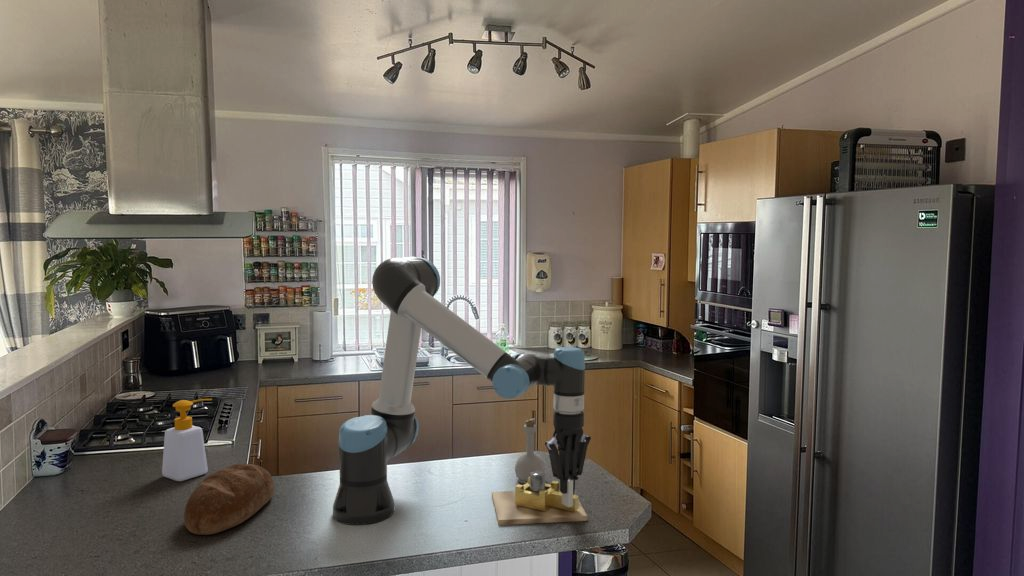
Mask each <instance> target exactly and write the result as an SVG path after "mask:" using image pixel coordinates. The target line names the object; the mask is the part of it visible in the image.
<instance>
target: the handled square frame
mask: <svg viewBox="0 0 1024 576" xmlns="http://www.w3.org/2000/svg"><path fill="white" fill-rule="evenodd" d="M514 489H515V490H514V491H515V505H519V506H523V507H528V508H532V509H537V510H541V511H546V510H547V509H548V508H550V507H555V508H560V509H564V510H569V511H573V512H576V511H577V510H578V501H579V502H580V500H579V495H577V494H575V495H573V506H572V507H567V506H565V505H563V504H562V493H561V492H559V489H560V481H558V480H553V481H551V482H550V483H545V490H543V489H542V490H540V491H539V493H536V492H531V491H530V477H528V483H526V484H519V483H518V484H517V485H515V487H514Z"/></svg>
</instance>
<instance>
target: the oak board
mask: <svg viewBox="0 0 1024 576" xmlns="http://www.w3.org/2000/svg"><path fill="white" fill-rule="evenodd" d="M559 492H560V488H559ZM574 495H576V493H575V494H574ZM491 499H492V503H493V508H494V512H495V516H496V520H497V525H498V526H503V525H506V526H507V525H525V524H526V525H527V524H543V523H544V524H546V523H563V522H566V523H567V522H584V521H585V522H586V521H588V514H587V513H586V511H585V509H584V507H583V506H582V503H581V502H580V500H579V501H578V510H577V511H576V512H573V511H569V510H564V509H560V508H555V507H550V508H548V509H547V510H546V511H541V510H537V509H532V508H528V507H523V506H519V505H515V490H505V491H501V490H500V491H491Z"/></svg>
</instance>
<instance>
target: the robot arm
mask: <svg viewBox="0 0 1024 576" xmlns="http://www.w3.org/2000/svg"><path fill="white" fill-rule="evenodd" d="M371 283H372V284H371V286H372V289H373V292H374V294H375V296H376V297H377V299H378V300H379V301H380V302H381V303H382V304H384V306H385V307H386V308H387V309H388V310H389V311H390V313H389V314H390V315H389V321H388V326H387V328H388V329H387V335H386V343H385V349H384V356H383V357H384V358H383V364H382V371H381V378H380V379H381V380H380V385H379V386H380V387H379V394H378V398H377V399H376V400H375V401H373V402H372V404H371V410H370V414H365V415H360V416H358V417H355V416H354V417H352V418H350V419H348V420H346V421H344V422H343V423H342V424H341V426H340V428H339V431H338V432H339V433H338V434H339V435H338V440H337V441H338V444H337V445H338V449H339V450H338V452H339V453H338V456H339V457H338V459H339V460H338V461H339V463H338V464H339V485H338V489H337V492H336V495H335V498H334V501H333V504H332V517H333V519H335V520H336V521H337V522H339V523H342V524H346V525H358V526H359V525H369V524H374V523H378V522H380V521H384V520H386V519H388V518H389V517H391V516H392V515H393V514H394V512H395V499H394V497H393V493H392V491H391V488H390V485H389V482H388V461H390V460H391V459H392V458H394V457H396V456H398V455H400V454H401V453H404V452H405V451H406V450H408V449H409V448H410V447H411V445H413V443H414V442H415V441H416V439H417V437H418V434H419V428H420V427H419V421H418V418H417V417H416V415H415V413H416V407H415V406H414V405H413V403H412V402H411V400H412V394H413V388H414V380H415V375H416V374H415V372H416V368H417V367H416V366H417V359H418V352H419V345H420V341H421V340H420V339H421V332H422V330H424V331H425V332H426V333H427V334H429V335H430V336H432V338H434V339H435V340H436V341H438V342H439V343H440V344H442V345H443V346H444V347H445V348H447V349H448V350H449V351H451V352H452V353H454V354H455V355H456V356H457V357H459V358H460V359H461V360H463V361H464V362H465V363H467V364H468V365H469V366H471V368H473V369H475V370H476V371H477V372H479V374H481V375H482V376H484V377H485V378H486V379H487V380H488V381H490V382H491V383H492V387H493V390H494V391H495V393H496V394H497V395H498V396H499V397H501V398H503V399H507V400H510V399H511V400H512V399H515V398H517V397H521V396H523V394H525V393H526V392H527V391H528V390H529V389H531V388H532V387H533V386H535V385H536V386H537V385H538V386H549V387H550V386H552V387H553V404H552V405H553V409H554V410H553V414H552V415H553V416H552V418H553V419H552V420H553V421H552V423H553V428H554V431H553V434H552V438H551V439H550V440H546V441H545V442H544V445H545V447H546V450H547V451H548V457H549V461H550V466H551V471H552V476H553V477H554V478H555V479H557V480H559V489H560V492H561V493H562V504H563V505H565V506H567V507H572V506H573V491H574V490H576V481H578V480H579V476H581V475H583V471H584V465H585V460H586V456H587V451H588V446H589V444H590V442H591V439H592V437H591V436H590V435H587V434H585V433H584V429H583V427H584V425H585V412H584V410H585V383H586V382H585V379H586V377H585V376H586V375H585V374H586V364H585V361H586V360H585V359H586V358H585V352H584V350H583V349H582V348H580V347H574V346H560V347H555V349H554V350H553V351H554V352H553V354H538V353H525V352H519V353H518V352H515V353H513V352H512V353H510V354H509V353H508V352H507V351H506V350H504V349H503V348H501V347H500V346H498V345H497V344H496V343H495V342H493V341H492V340H491V339H489V338H488V337H487V336H485V335H484V334H483V333H482V332H480V331H479V330H478V329H476V328H475V327H473V326H472V325H470V323H468V322H467V321H465V320H464V319H463V318H462V317H460V316H459V315H458V314H456V313H455V312H453V311H452V310H451V309H449V308H448V307H447V306H446V305H444V304H443V303H441V302H440V301H439V300H437V299H436V298H434V296H436V294H437V293H438V291H439V289H440V285H441V275H440V272H439V269H438V268H437V267H436V265H435V264H434V263H433V262H432V261H430V260H429V259H427V258H424V257H418V256H407V257H393V258H388V259H385V260H384V261H382V262H380V263H379V265H378V266H377V267H376V268H375V270H374V272H373V275H372V280H371Z"/></svg>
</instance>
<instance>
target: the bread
mask: <svg viewBox="0 0 1024 576" xmlns="http://www.w3.org/2000/svg"><path fill="white" fill-rule="evenodd" d="M274 491H275V480H274V479H273V476H272V475H271V473H270V472H269V471H268V470H267V469H265V468H264V467H263V466H260V465H257V464H253V463H237V464H232V465H228V466H227V467H224V468H223V469H221V470H218V471H216V472H213V473H211V474H210V475H208V476H206V477H205V478H204V479H203V480H202V481H201V482H200V483H199V485H197V487H195V489H194V490H193V491H192V493H191V494H190V495H189V498H188V500H187V502H186V505H185V507H184V512H183V521H184V522H183V523H184V525H185V528H186V530H188V531H189V532H190V533H192V534H194V535H200V536H211V535H215V534H218V533H221V532H223V531H226V530H229V529H231V528H234V527H236V526H238V525H240V524H242V523H244V522H245V521H247V520H248V519H250V518H251V517H253V516H254V515H255V514H257V512H258V511H259V510H261V509H262V508H263V507H264V506H265V505H266V504H267V503H268V502H269V501H270V500H271V499H272V497H273V495H274V494H275V492H274Z"/></svg>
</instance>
